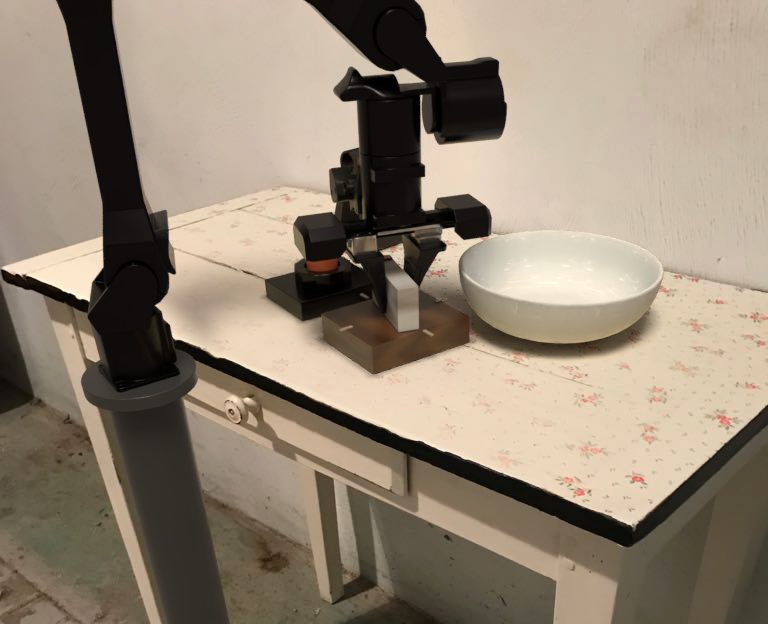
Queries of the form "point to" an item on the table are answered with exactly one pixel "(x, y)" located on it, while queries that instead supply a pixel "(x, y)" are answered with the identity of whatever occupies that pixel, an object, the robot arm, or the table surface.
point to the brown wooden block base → (394, 333)
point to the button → (322, 265)
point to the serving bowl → (559, 284)
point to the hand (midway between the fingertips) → (395, 310)
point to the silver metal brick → (400, 297)
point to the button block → (318, 289)
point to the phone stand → (343, 208)
